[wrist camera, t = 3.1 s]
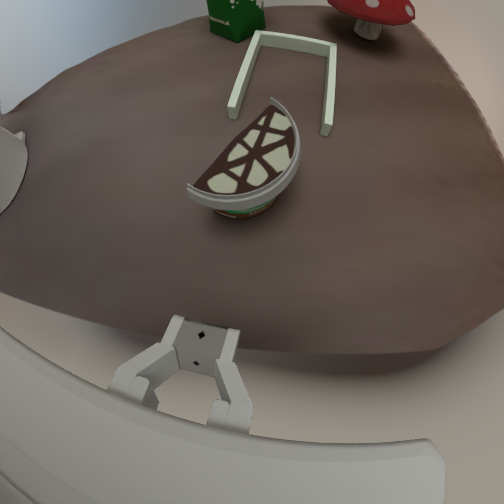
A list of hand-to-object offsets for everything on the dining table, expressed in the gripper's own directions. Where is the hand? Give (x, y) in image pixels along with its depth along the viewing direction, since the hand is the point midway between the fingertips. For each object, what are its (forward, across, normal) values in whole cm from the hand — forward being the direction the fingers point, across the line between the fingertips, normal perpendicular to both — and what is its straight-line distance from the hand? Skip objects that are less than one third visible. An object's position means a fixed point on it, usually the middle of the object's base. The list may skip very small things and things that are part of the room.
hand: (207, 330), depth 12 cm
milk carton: (+44, +10, -19) cm, 49 cm away
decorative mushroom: (+49, -12, -23) cm, 55 cm away
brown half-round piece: (+22, 0, +4) cm, 22 cm away
